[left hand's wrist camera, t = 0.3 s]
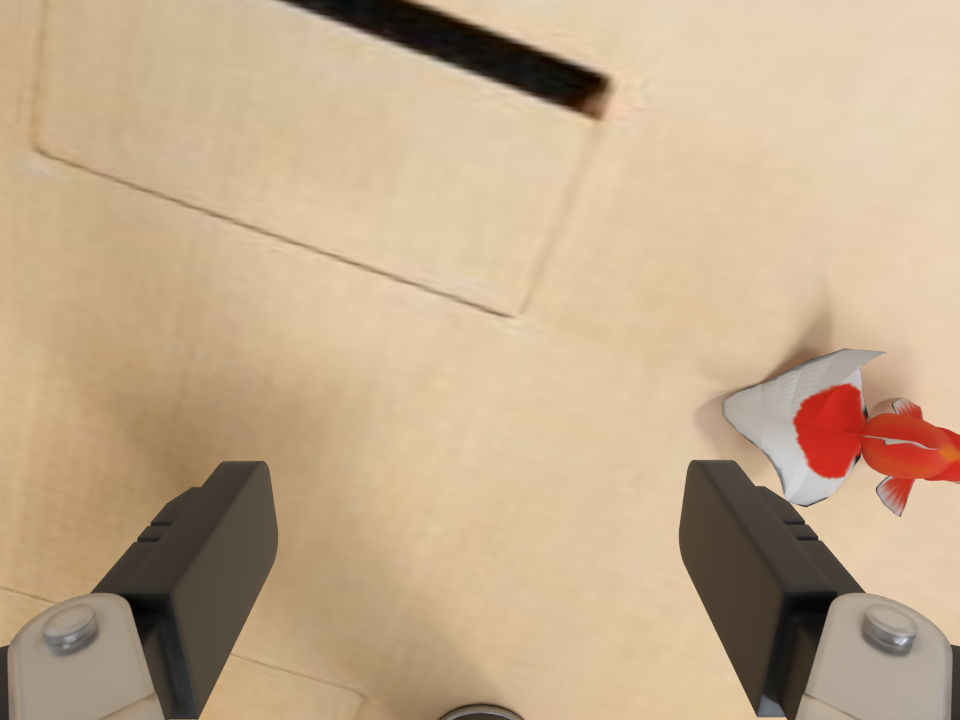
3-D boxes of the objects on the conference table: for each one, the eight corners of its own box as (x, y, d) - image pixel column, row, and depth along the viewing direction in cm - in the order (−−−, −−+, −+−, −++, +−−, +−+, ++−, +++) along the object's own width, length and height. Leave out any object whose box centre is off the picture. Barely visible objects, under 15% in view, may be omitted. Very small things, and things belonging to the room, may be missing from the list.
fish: (894, 567, 42) (974, 600, 32) (687, 450, 46) (704, 448, 37) (969, 434, 42) (1072, 428, 33) (756, 330, 47) (791, 297, 37)
